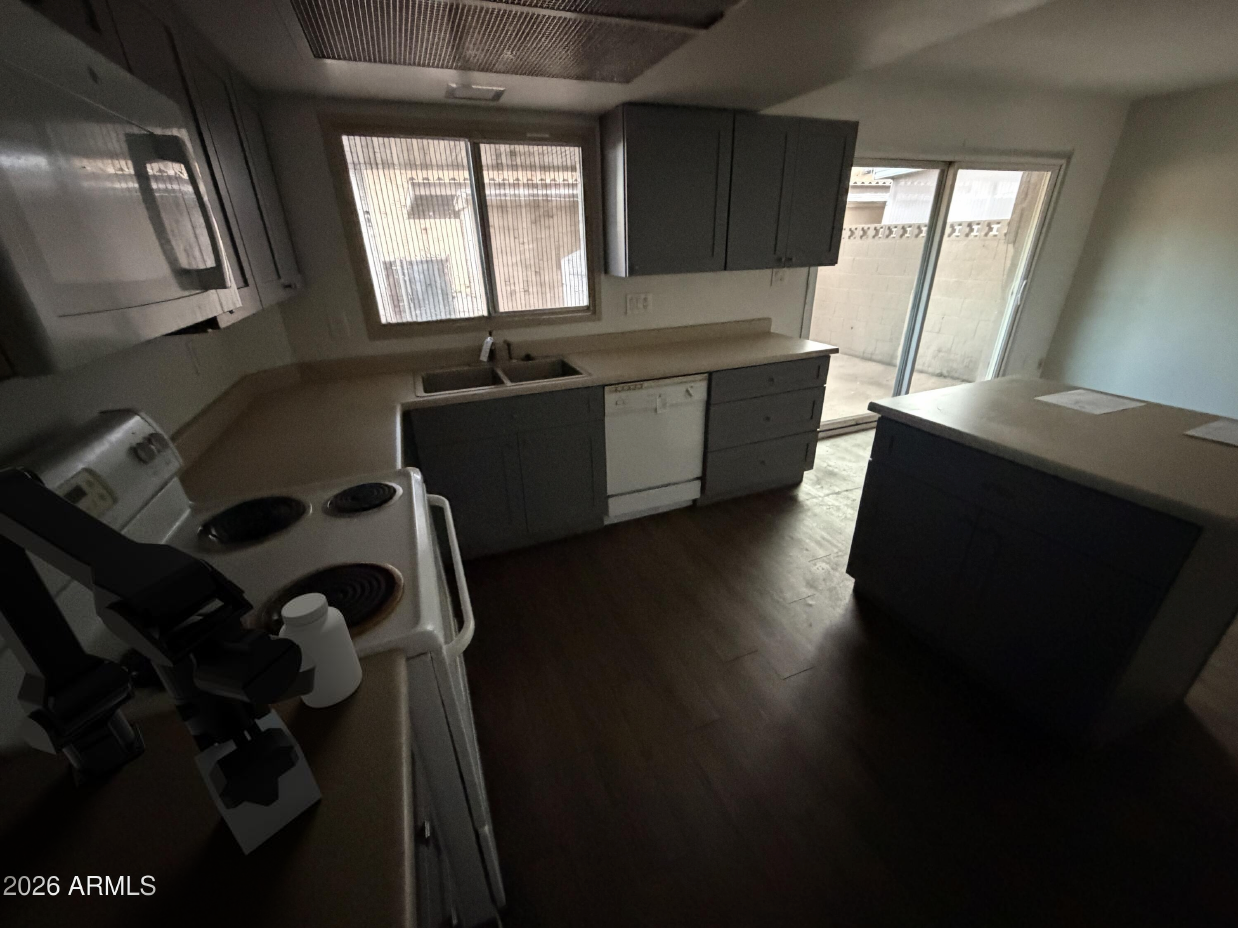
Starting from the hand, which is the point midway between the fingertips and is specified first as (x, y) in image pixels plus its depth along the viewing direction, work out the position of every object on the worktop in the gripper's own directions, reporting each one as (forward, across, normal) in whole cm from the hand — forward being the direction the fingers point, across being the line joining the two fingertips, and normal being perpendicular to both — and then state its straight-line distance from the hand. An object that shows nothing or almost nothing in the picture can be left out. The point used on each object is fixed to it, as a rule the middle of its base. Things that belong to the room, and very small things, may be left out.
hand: (259, 779), depth 56 cm
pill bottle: (+5, +12, -12) cm, 18 cm away
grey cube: (+4, 0, 0) cm, 4 cm away
